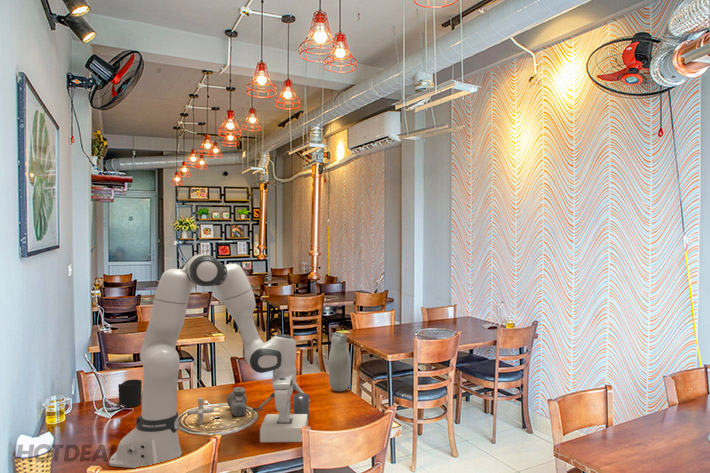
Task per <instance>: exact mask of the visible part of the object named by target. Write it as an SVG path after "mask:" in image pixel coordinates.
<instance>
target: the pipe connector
mask: <svg viewBox="0 0 710 473" xmlns="http://www.w3.org/2000/svg"><path fill="white" fill-rule="evenodd" d="M197 401H198V404H197V407H198V408H195V409H194V408H193V409H187V412H186V415H197V418H198V420H197V422H198V425H203V424H204V414H209V413H215V411H214V409H215V408H214V407H205V408H204V397H198V400H197Z"/></svg>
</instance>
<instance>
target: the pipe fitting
mask: <svg viewBox="0 0 710 473" xmlns="http://www.w3.org/2000/svg"><path fill="white" fill-rule="evenodd" d="M226 402H227V405H228V408H230V409H231V413H232V416H234V417H236V418H239V417H242V416H244V415H245V414H246V412H247V405H246V404H247V394H246V388H244V387H243V386H242V387H241V386H236V387H234V388H233V390H232V391H231V392H230V393H228V396H227V400H226Z"/></svg>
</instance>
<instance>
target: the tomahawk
mask: <svg viewBox="0 0 710 473" xmlns="http://www.w3.org/2000/svg"><path fill="white" fill-rule="evenodd" d="M273 398H275V395H274V392H272V393H271V394H270V396H269V397H267V399H265V401H263V402H262V403H261V404H260V405H259V406H258V407H257V408H255V407H253V408H252V411H257V412H263V410H265V408H264V406H265V405H267V404H268V403H269V402H270V401H271V400H272V399H273ZM263 408H264V409H263Z"/></svg>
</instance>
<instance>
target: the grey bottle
mask: <svg viewBox="0 0 710 473" xmlns="http://www.w3.org/2000/svg"><path fill="white" fill-rule="evenodd" d="M330 345H331V346H330V349H329V350H330V351H329V355H328V381H329V385H330V387H331V389H332V390H333V391H335V392H345V391H346V390H348V389H349V386H350V384H351V354H350V351H349V346H348V337H347V335H346V334H345V333H343V332H334V333H332V335H331V344H330Z"/></svg>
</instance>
